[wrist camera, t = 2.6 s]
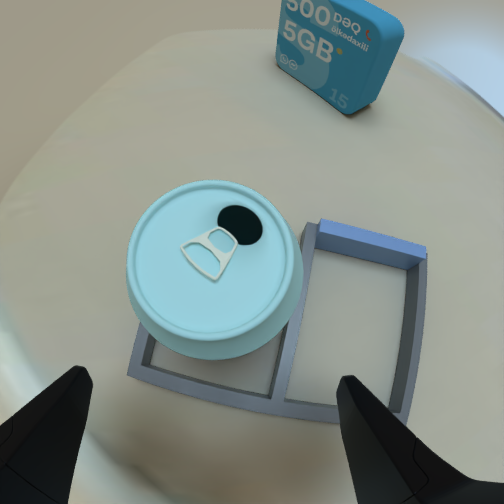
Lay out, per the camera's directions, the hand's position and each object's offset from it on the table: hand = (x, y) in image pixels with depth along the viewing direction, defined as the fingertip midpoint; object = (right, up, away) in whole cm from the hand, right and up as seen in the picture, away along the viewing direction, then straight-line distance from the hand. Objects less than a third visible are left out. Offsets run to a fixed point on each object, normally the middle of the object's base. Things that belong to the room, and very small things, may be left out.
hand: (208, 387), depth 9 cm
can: (0, 0, +12) cm, 12 cm away
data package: (+10, +24, +21) cm, 33 cm away
